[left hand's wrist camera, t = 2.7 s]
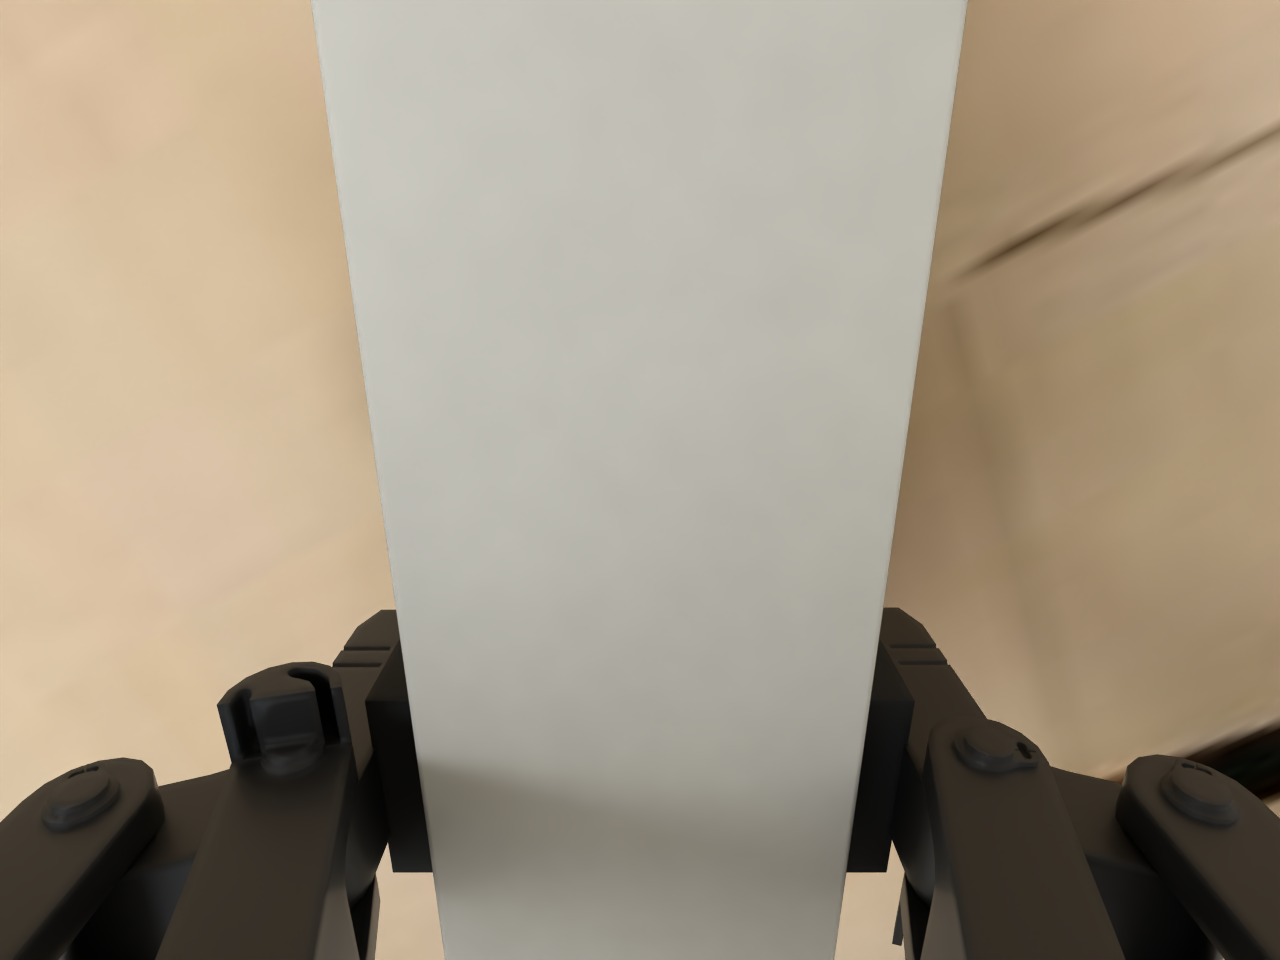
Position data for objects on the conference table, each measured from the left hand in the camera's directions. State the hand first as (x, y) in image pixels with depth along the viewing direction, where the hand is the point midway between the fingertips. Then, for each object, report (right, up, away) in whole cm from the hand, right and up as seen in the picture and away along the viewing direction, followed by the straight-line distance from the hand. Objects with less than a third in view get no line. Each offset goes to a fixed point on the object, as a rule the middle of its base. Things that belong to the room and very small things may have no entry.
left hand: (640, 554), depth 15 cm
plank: (0, +26, -9) cm, 27 cm away
